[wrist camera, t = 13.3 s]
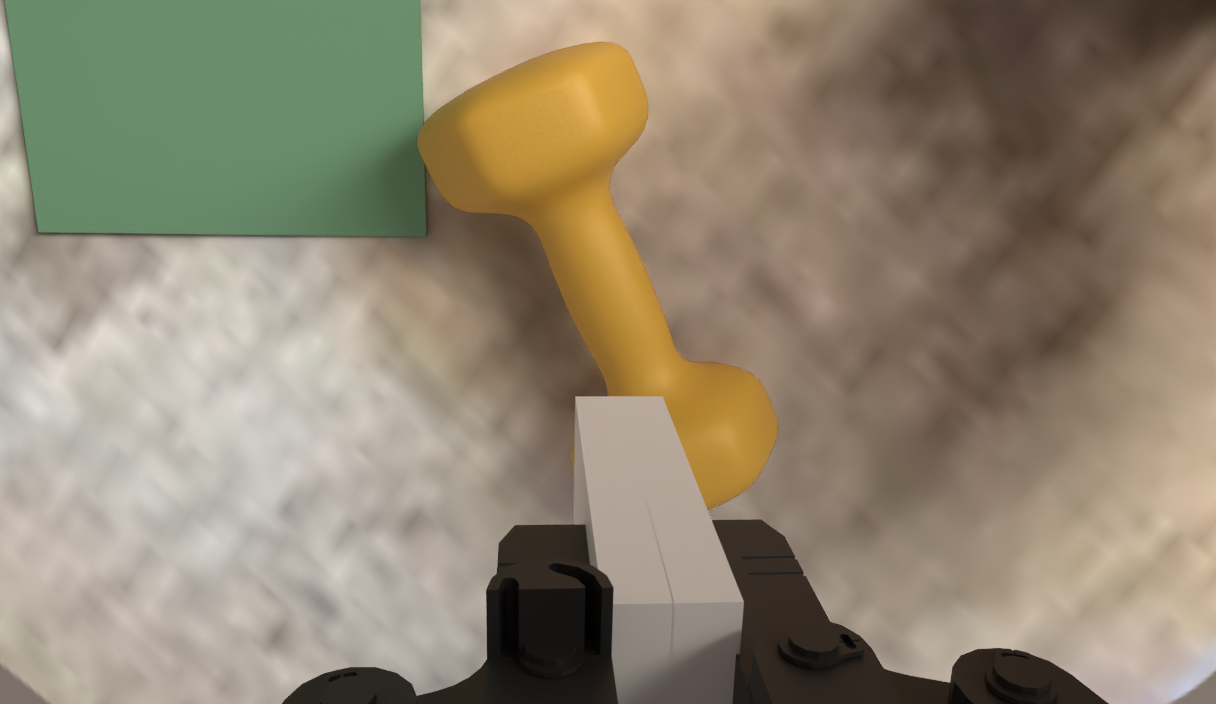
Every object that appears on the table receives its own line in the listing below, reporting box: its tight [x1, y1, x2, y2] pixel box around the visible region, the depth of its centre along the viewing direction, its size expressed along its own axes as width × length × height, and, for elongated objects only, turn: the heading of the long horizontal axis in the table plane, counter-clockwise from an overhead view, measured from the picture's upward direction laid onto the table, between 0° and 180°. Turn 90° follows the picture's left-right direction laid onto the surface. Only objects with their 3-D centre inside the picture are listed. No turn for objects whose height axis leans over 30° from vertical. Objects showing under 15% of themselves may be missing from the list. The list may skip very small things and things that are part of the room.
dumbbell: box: [417, 42, 778, 510], centre depth 39 cm, size 19×9×8 cm, turn 22°
